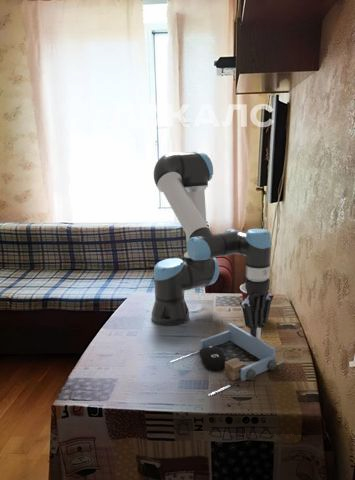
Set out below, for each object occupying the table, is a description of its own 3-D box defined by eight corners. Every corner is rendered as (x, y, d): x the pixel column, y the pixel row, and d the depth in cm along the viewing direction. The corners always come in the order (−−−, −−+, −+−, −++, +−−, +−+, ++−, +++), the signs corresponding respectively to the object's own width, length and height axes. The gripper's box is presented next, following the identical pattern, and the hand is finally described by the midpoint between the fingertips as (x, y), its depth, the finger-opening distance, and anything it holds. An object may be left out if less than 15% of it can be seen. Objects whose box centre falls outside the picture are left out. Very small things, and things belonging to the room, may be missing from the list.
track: (169, 361, 118) (169, 361, 118) (240, 335, 133) (240, 335, 133) (209, 396, 101) (209, 396, 101) (285, 362, 116) (285, 361, 116)
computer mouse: (206, 374, 111) (205, 362, 110) (197, 353, 123) (197, 342, 122) (230, 371, 112) (230, 359, 111) (219, 351, 124) (219, 340, 123)
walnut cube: (224, 373, 111) (224, 362, 110) (235, 369, 113) (235, 357, 112) (233, 380, 107) (233, 368, 107) (244, 375, 109) (244, 363, 109)
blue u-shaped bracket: (198, 348, 125) (198, 332, 123) (228, 337, 132) (228, 321, 130) (245, 382, 106) (245, 364, 104) (277, 368, 112) (278, 350, 111)
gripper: (250, 285, 111) (249, 356, 116) (280, 276, 117) (278, 343, 123) (234, 278, 117) (233, 346, 122) (263, 270, 124) (261, 334, 129)
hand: (255, 344), depth 123 cm, fingers closed
